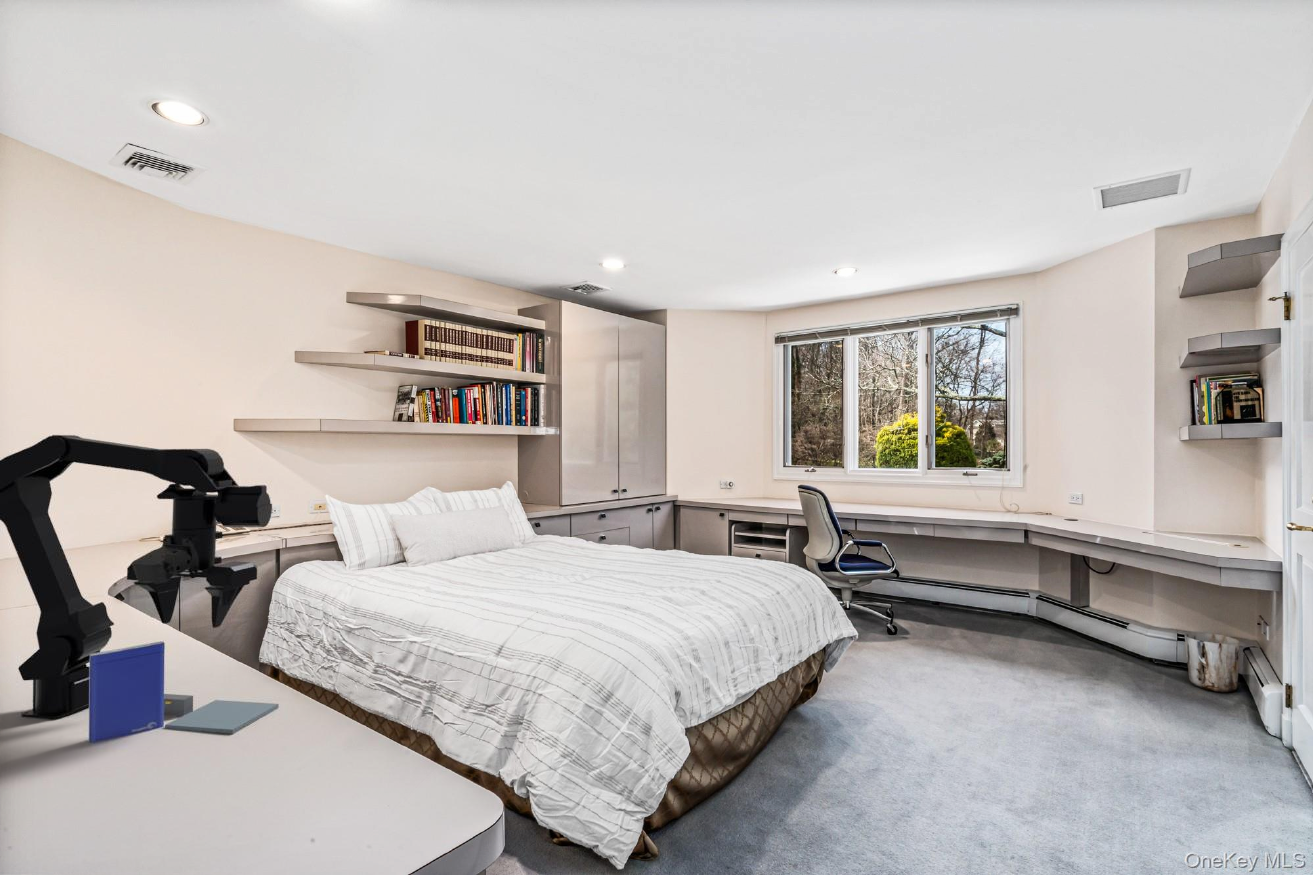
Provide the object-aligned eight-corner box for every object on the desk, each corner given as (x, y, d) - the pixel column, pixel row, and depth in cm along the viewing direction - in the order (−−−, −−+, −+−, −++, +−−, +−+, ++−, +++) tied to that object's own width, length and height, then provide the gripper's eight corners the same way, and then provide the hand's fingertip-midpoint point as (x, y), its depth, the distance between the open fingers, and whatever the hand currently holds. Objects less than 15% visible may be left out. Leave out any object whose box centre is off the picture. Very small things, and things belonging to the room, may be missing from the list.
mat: (164, 728, 92) (164, 724, 92) (215, 703, 101) (215, 699, 101) (233, 733, 91) (233, 729, 91) (278, 707, 100) (278, 703, 100)
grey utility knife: (114, 712, 98) (114, 696, 98) (125, 707, 100) (126, 691, 100) (182, 716, 96) (182, 700, 96) (192, 711, 98) (193, 695, 98)
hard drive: (164, 727, 93) (165, 643, 93) (89, 747, 87) (90, 656, 87) (162, 724, 94) (163, 640, 94) (88, 743, 88) (89, 653, 88)
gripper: (92, 531, 95) (89, 635, 94) (201, 537, 92) (197, 645, 91) (162, 522, 106) (158, 616, 105) (261, 527, 103) (258, 623, 102)
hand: (191, 625), depth 101 cm, fingers open, 9 cm apart
